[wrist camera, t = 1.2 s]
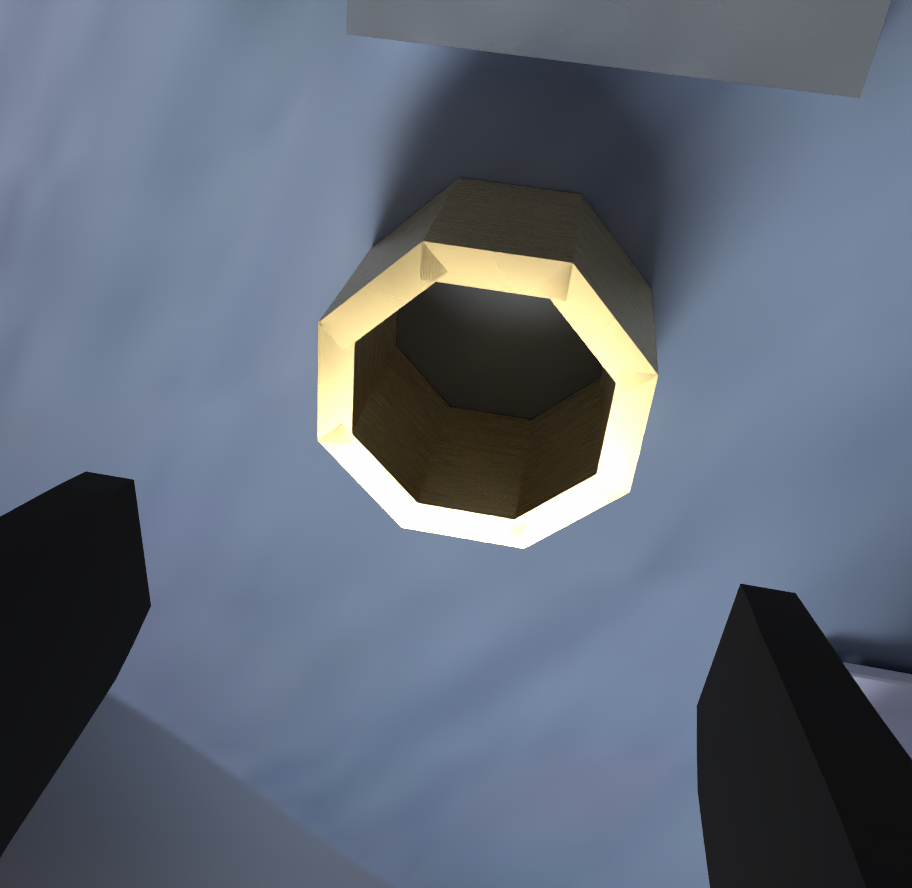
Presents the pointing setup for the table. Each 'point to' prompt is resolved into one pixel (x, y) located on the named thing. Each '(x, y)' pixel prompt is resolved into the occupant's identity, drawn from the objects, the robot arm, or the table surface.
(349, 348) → the collar
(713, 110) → the table surface
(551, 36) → the shaft block
